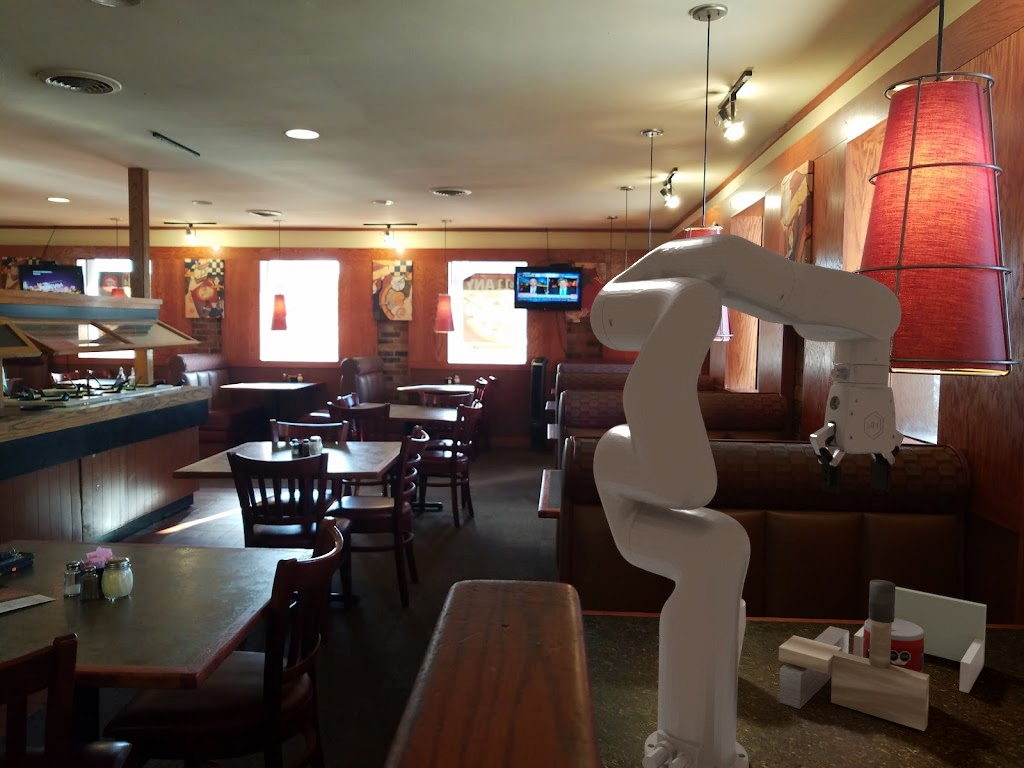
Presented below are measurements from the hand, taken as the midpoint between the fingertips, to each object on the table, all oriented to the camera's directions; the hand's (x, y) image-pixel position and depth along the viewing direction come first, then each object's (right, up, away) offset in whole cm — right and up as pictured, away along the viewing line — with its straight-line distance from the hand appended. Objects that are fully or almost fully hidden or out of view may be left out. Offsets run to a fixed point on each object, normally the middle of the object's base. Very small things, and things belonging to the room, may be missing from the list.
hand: (855, 490), depth 112 cm
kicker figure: (-3, -30, -6) cm, 31 cm away
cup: (-20, -30, +5) cm, 36 cm away
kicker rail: (-5, -30, +3) cm, 30 cm away
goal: (+14, -30, +9) cm, 34 cm away
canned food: (+4, -31, -3) cm, 31 cm away
